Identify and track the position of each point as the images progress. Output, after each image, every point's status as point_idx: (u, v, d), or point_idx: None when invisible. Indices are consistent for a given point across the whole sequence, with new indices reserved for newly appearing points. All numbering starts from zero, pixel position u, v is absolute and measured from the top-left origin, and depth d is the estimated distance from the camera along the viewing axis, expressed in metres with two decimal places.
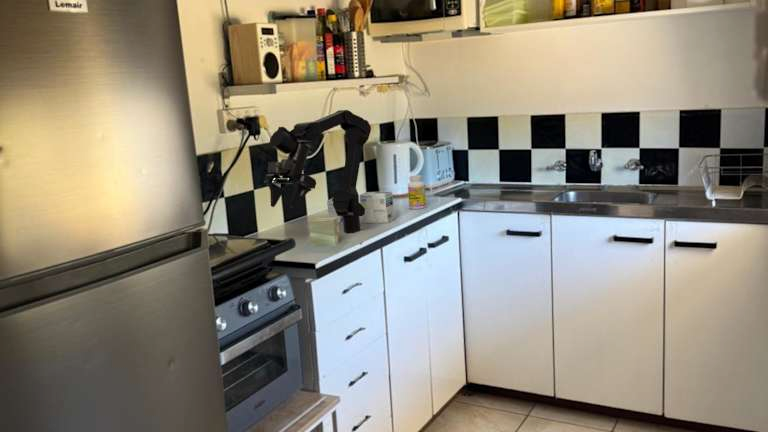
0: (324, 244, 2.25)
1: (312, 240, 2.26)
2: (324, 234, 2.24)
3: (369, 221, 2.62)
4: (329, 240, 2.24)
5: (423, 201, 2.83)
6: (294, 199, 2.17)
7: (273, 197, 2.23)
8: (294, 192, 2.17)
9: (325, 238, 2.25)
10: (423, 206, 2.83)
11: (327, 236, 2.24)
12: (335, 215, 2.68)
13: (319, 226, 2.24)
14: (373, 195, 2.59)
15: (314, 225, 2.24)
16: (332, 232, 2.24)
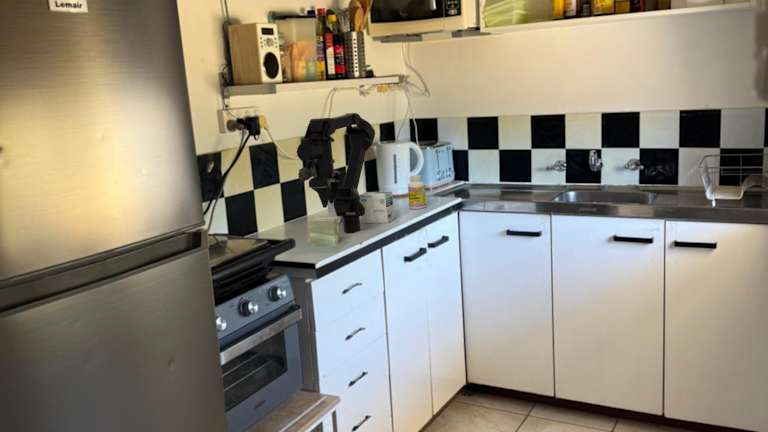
0: (324, 244, 2.25)
1: (312, 240, 2.26)
2: (324, 234, 2.24)
3: (369, 221, 2.62)
4: (329, 240, 2.24)
5: (423, 201, 2.83)
6: (322, 200, 2.28)
7: None
8: None
9: (325, 238, 2.25)
10: (423, 206, 2.83)
11: (327, 236, 2.24)
12: (335, 215, 2.68)
13: (319, 226, 2.24)
14: (373, 195, 2.59)
15: (314, 225, 2.24)
16: (332, 232, 2.24)
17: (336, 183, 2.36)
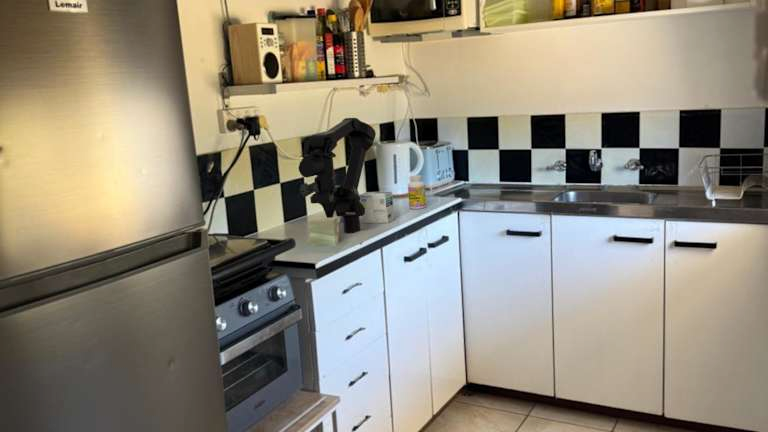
0: (324, 244, 2.25)
1: (312, 240, 2.26)
2: (324, 234, 2.24)
3: (369, 221, 2.62)
4: (329, 240, 2.24)
5: (423, 201, 2.83)
6: (326, 214, 2.32)
7: None
8: None
9: (325, 238, 2.25)
10: (423, 206, 2.83)
11: (327, 236, 2.24)
12: (335, 215, 2.68)
13: (319, 226, 2.24)
14: (373, 195, 2.59)
15: (314, 225, 2.24)
16: (332, 232, 2.24)
17: (335, 200, 2.33)
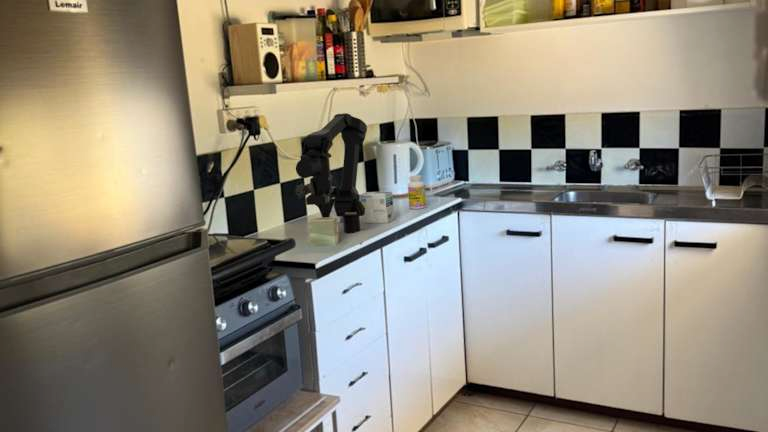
0: (324, 244, 2.25)
1: (312, 240, 2.25)
2: (324, 234, 2.24)
3: (369, 221, 2.62)
4: (329, 240, 2.24)
5: (423, 201, 2.83)
6: (323, 215, 2.28)
7: None
8: None
9: (325, 238, 2.24)
10: (423, 206, 2.83)
11: (327, 237, 2.24)
12: (335, 215, 2.68)
13: (319, 226, 2.24)
14: (373, 195, 2.59)
15: (314, 225, 2.24)
16: (332, 232, 2.23)
17: None
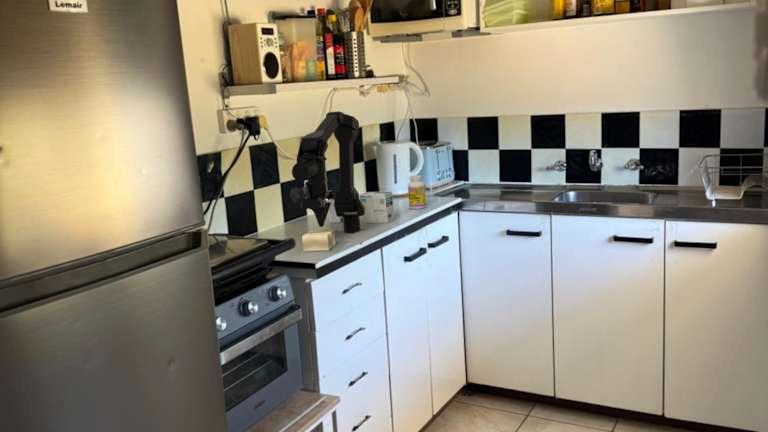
0: None
1: None
2: None
3: (369, 221, 2.62)
4: None
5: (423, 201, 2.83)
6: (318, 219, 2.23)
7: None
8: None
9: None
10: (423, 206, 2.83)
11: None
12: (335, 215, 2.68)
13: None
14: (373, 195, 2.59)
15: None
16: None
17: None
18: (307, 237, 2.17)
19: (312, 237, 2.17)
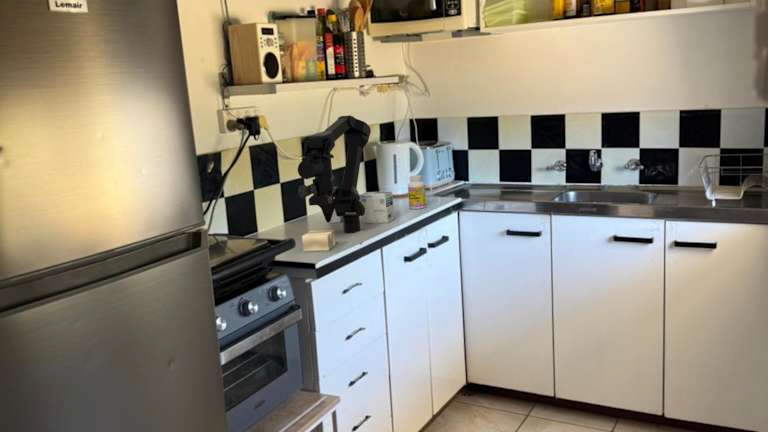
0: None
1: None
2: None
3: (369, 221, 2.62)
4: None
5: (423, 201, 2.83)
6: (325, 215, 2.30)
7: None
8: None
9: None
10: (423, 206, 2.83)
11: None
12: (335, 215, 2.68)
13: None
14: (373, 195, 2.59)
15: None
16: None
17: None
18: (307, 237, 2.17)
19: (312, 237, 2.17)
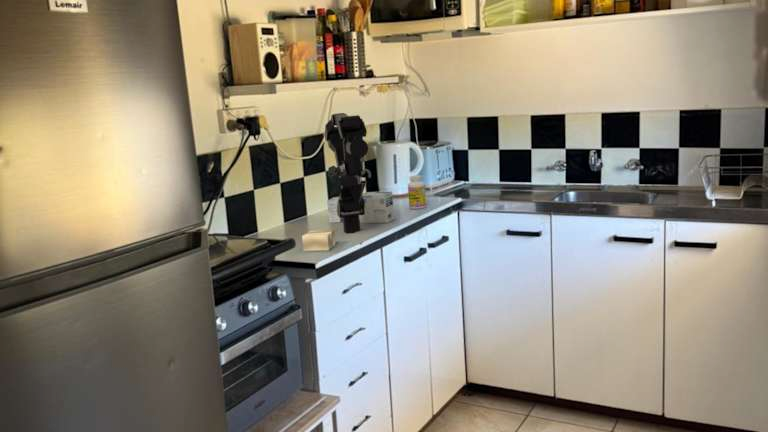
0: None
1: None
2: None
3: (369, 221, 2.62)
4: None
5: (423, 201, 2.83)
6: (354, 197, 2.29)
7: None
8: None
9: None
10: (423, 206, 2.83)
11: None
12: (335, 215, 2.68)
13: None
14: (373, 195, 2.59)
15: None
16: None
17: (362, 183, 2.30)
18: (307, 237, 2.17)
19: (312, 237, 2.17)
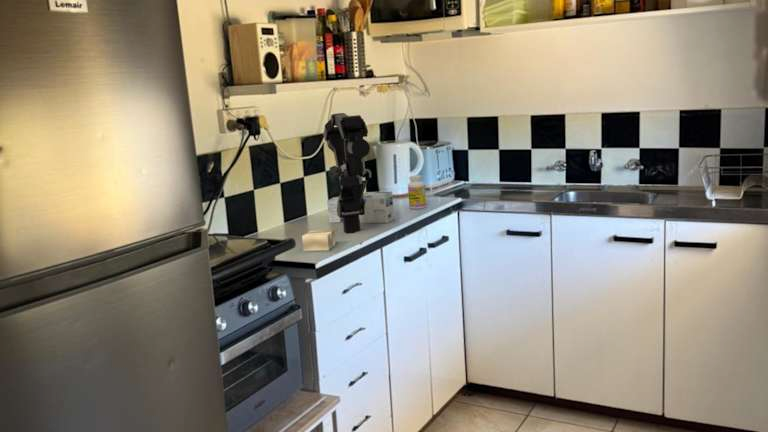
0: None
1: None
2: None
3: (369, 221, 2.62)
4: None
5: (423, 201, 2.83)
6: (355, 197, 2.30)
7: None
8: None
9: None
10: (423, 206, 2.83)
11: None
12: (335, 215, 2.68)
13: None
14: (373, 195, 2.59)
15: None
16: None
17: None
18: (307, 237, 2.17)
19: (312, 237, 2.17)
